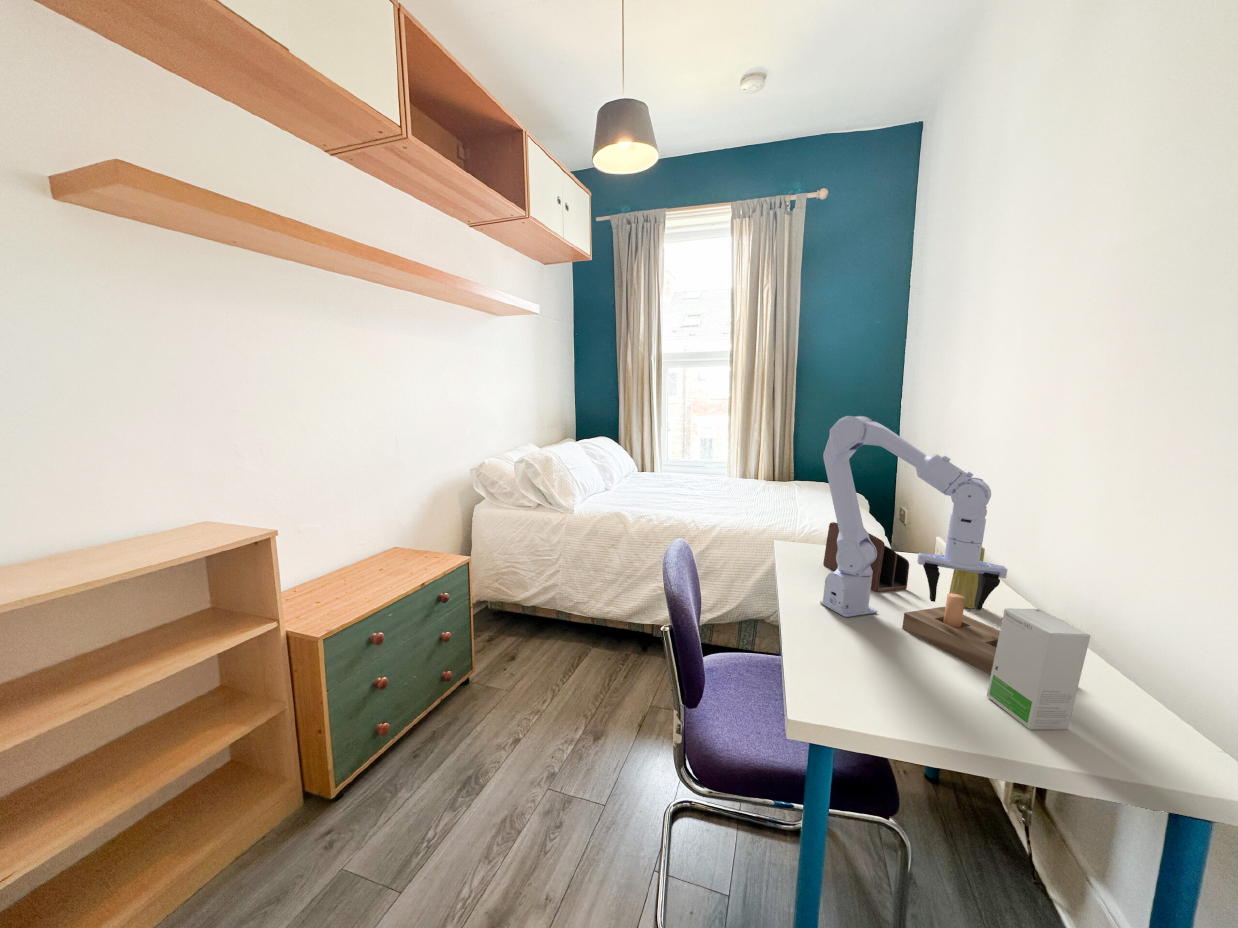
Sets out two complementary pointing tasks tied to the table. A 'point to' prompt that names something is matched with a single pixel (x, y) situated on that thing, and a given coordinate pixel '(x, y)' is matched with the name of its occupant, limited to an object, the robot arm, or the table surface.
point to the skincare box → (1037, 668)
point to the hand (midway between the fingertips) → (954, 604)
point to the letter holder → (886, 567)
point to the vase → (966, 584)
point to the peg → (954, 610)
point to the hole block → (955, 636)
